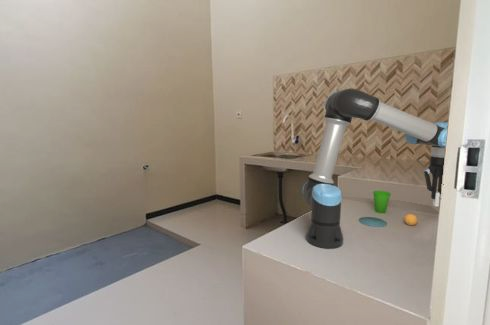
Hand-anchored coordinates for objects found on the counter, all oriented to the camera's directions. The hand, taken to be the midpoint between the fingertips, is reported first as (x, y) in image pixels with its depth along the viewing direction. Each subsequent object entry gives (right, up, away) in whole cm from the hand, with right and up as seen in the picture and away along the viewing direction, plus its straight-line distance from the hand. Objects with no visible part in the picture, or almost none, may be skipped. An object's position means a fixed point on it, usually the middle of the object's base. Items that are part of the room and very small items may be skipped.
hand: (435, 205), depth 130 cm
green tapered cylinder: (-15, -7, +23) cm, 28 cm away
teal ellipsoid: (-26, -9, +8) cm, 29 cm away
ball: (-9, -7, +4) cm, 13 cm away
